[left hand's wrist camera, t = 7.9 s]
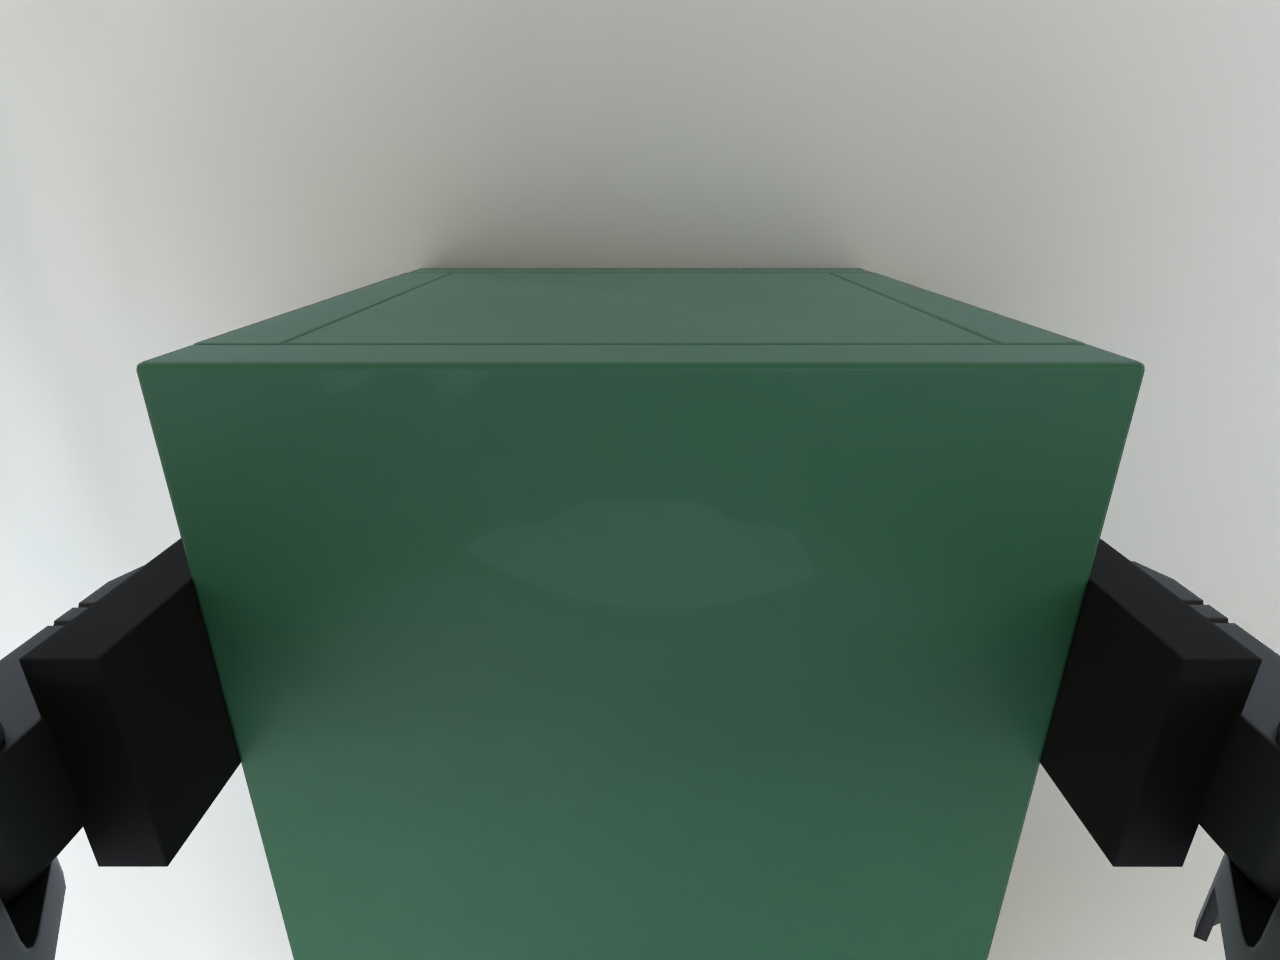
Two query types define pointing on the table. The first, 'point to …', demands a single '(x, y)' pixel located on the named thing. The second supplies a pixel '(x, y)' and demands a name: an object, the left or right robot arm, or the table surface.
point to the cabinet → (640, 604)
